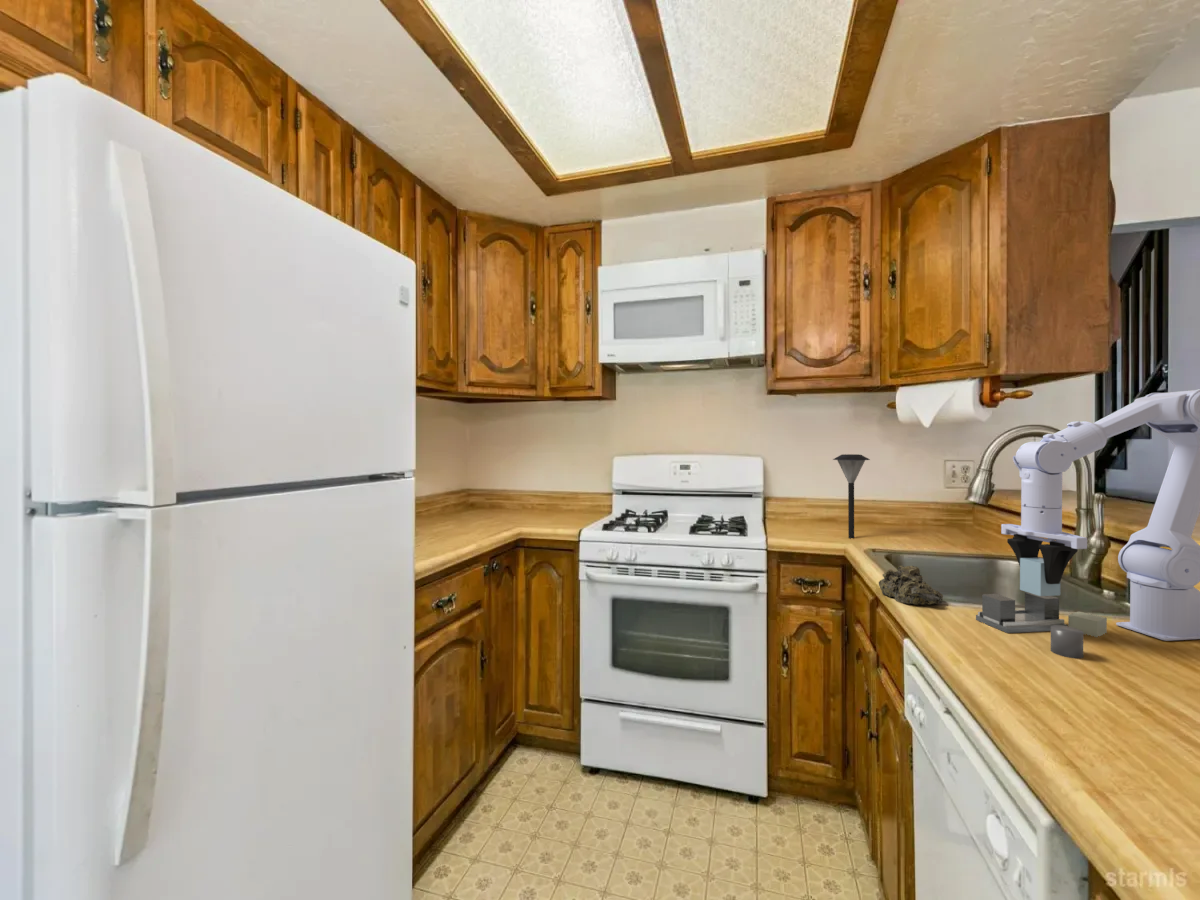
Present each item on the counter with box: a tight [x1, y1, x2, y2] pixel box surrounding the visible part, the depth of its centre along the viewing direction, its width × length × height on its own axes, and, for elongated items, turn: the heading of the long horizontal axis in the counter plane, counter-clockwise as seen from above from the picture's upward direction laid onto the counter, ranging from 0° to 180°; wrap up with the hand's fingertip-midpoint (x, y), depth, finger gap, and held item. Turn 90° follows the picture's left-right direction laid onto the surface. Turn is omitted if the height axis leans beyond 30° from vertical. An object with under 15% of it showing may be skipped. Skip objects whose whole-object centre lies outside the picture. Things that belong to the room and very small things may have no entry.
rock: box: [878, 565, 944, 606], centre depth 115 cm, size 13×10×10 cm
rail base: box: [975, 592, 1068, 634], centre depth 98 cm, size 12×7×6 cm, turn 95°
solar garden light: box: [832, 453, 871, 539], centre depth 183 cm, size 12×12×30 cm
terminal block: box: [1067, 611, 1108, 638], centre depth 94 cm, size 4×4×3 cm
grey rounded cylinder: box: [1050, 625, 1084, 659], centre depth 85 cm, size 4×4×4 cm
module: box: [1019, 556, 1061, 597], centre depth 94 cm, size 4×4×6 cm
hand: (1040, 580), depth 94 cm, fingers closed on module, 4 cm apart
